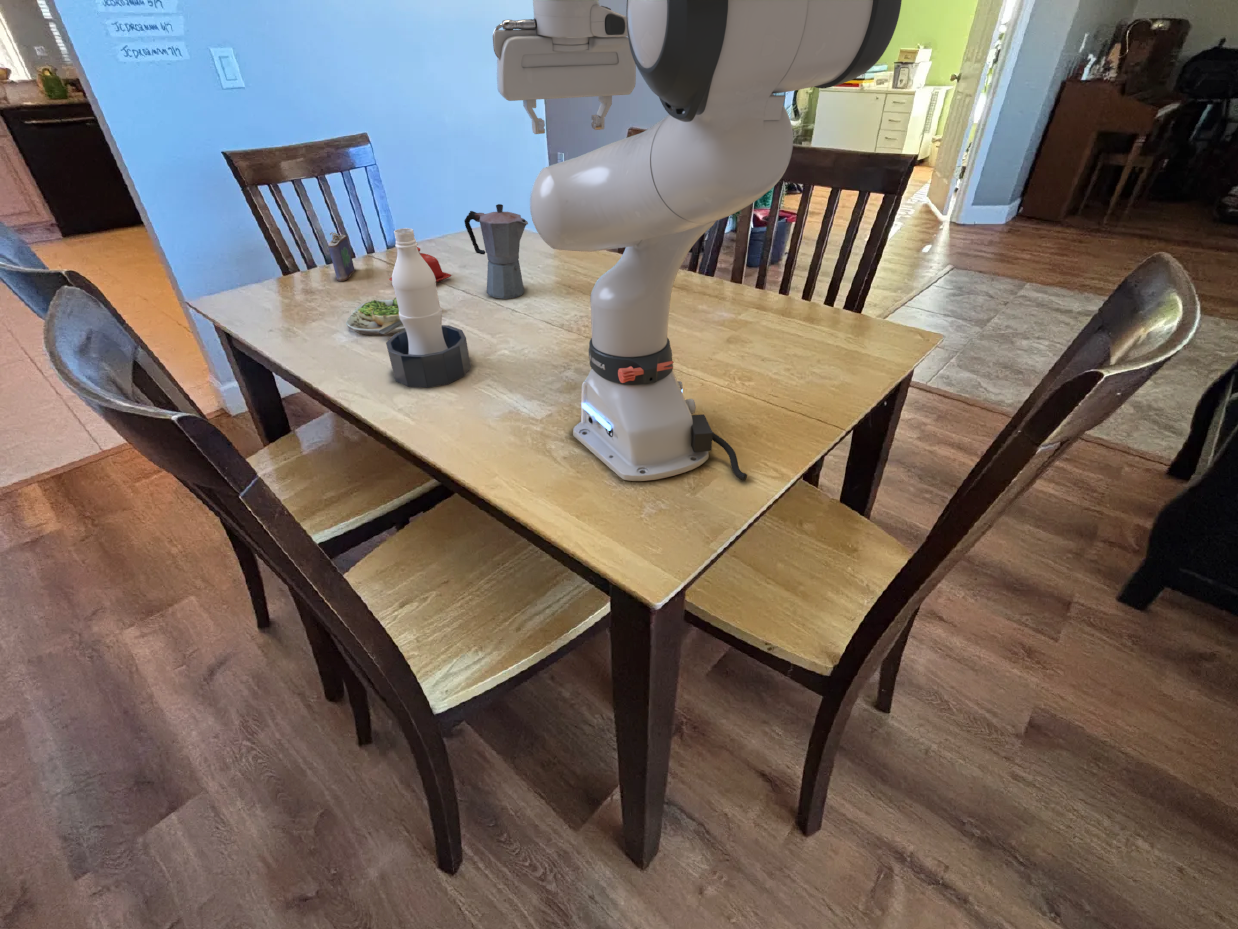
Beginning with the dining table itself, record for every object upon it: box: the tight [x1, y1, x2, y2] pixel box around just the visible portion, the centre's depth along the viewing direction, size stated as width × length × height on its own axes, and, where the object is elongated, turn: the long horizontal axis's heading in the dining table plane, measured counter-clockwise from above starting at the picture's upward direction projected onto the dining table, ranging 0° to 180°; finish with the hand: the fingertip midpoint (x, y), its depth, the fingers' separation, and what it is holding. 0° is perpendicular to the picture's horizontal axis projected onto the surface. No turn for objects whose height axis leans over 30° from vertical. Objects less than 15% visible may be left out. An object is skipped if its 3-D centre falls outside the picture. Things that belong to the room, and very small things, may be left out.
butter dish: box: [388, 246, 452, 284], centre depth 152 cm, size 12×12×8 cm
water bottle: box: [391, 227, 448, 355], centre depth 108 cm, size 7×7×25 cm
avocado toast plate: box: [345, 297, 405, 336], centre depth 132 cm, size 19×18×5 cm
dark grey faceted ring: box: [385, 324, 472, 389], centre depth 114 cm, size 14×14×6 cm
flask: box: [327, 231, 356, 282], centre depth 156 cm, size 9×3×11 cm, turn 2°
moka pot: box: [463, 203, 529, 300], centre depth 142 cm, size 10×15×20 cm, turn 78°
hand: (568, 130), depth 94 cm, fingers open, 8 cm apart
